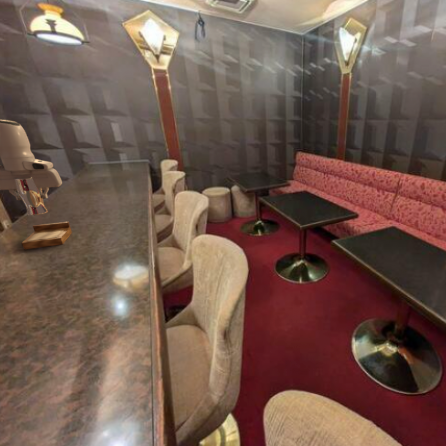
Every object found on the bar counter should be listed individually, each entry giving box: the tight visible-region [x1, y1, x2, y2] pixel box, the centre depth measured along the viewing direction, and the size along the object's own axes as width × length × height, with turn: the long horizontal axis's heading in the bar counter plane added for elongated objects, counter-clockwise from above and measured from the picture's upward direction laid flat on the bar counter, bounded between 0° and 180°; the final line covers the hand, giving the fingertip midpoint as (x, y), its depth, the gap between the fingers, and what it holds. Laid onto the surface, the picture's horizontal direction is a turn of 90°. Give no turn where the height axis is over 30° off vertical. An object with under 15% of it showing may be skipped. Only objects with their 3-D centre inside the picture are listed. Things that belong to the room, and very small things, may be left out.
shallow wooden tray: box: [21, 221, 73, 250], centre depth 108 cm, size 12×14×6 cm
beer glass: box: [13, 178, 49, 216], centre depth 100 cm, size 7×7×15 cm
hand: (33, 198), depth 100 cm, fingers closed on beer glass, 6 cm apart
